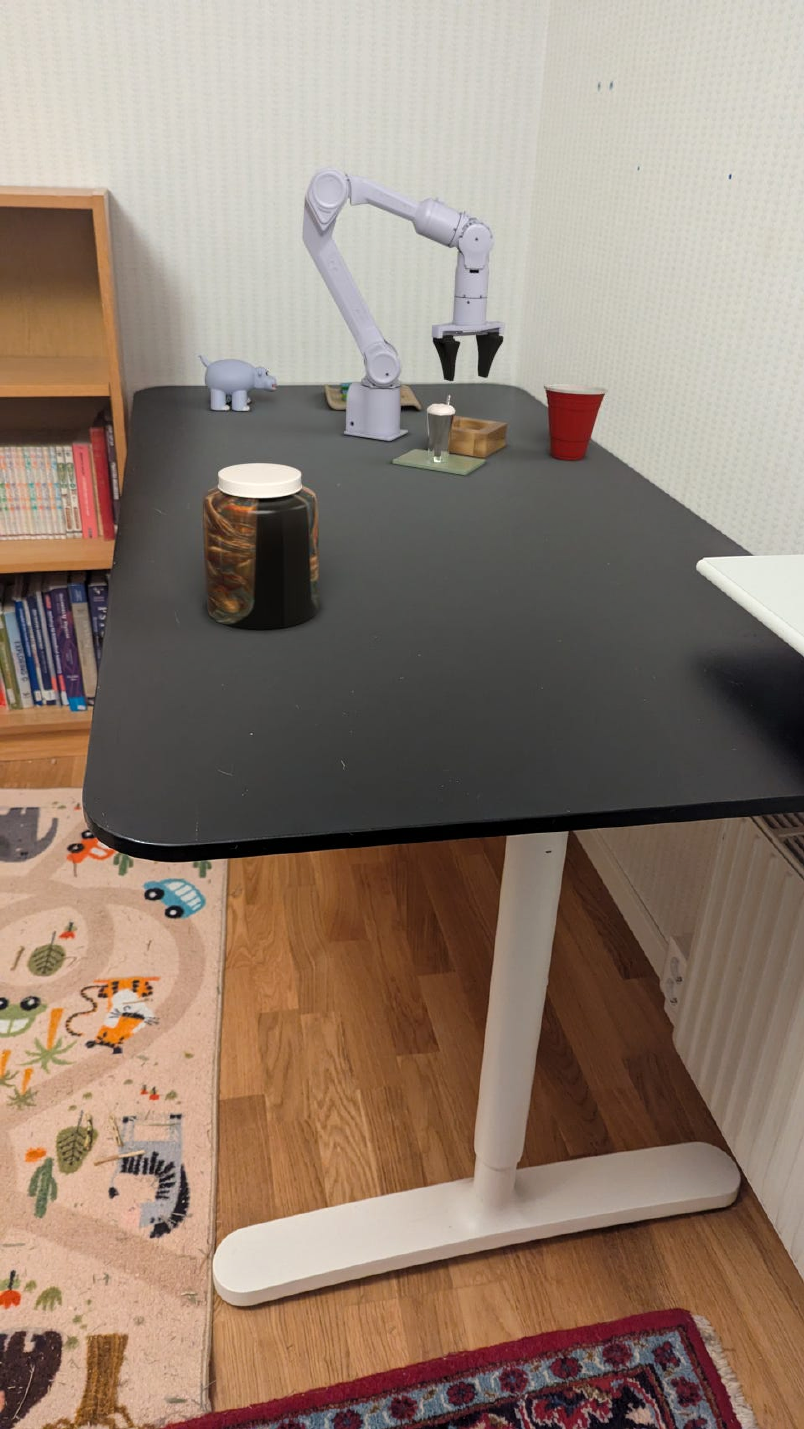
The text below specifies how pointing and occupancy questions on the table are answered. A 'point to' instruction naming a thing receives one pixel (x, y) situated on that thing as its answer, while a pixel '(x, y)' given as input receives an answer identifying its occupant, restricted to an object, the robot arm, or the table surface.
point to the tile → (451, 466)
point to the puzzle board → (339, 396)
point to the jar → (261, 547)
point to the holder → (477, 436)
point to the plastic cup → (572, 418)
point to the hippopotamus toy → (235, 382)
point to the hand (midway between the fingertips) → (465, 378)
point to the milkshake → (439, 430)
